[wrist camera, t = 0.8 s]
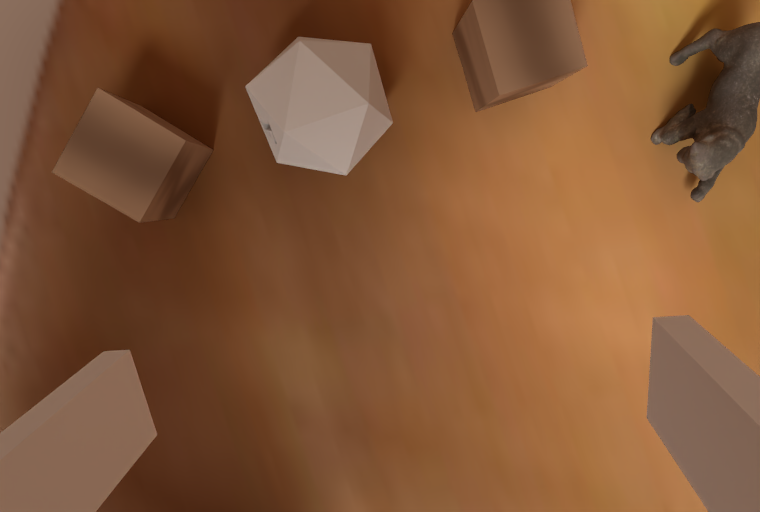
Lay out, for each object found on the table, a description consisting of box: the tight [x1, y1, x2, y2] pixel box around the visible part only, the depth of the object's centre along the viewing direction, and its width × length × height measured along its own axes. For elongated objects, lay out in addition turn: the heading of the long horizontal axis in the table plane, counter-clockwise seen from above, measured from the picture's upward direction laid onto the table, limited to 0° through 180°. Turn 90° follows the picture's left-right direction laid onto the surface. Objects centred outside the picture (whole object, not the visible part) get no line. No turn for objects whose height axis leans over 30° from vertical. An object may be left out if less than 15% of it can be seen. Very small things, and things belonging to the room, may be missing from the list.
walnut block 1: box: [52, 88, 213, 223], centre depth 33 cm, size 6×6×6 cm
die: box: [245, 37, 393, 175], centre depth 32 cm, size 8×9×10 cm
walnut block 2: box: [452, 0, 588, 112], centre depth 33 cm, size 6×6×6 cm
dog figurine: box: [651, 22, 760, 202], centre depth 34 cm, size 12×6×7 cm, turn 163°
